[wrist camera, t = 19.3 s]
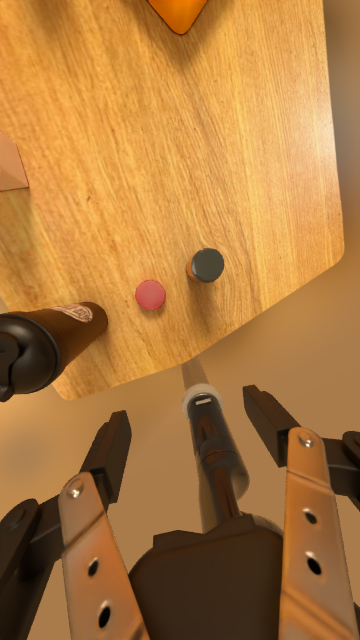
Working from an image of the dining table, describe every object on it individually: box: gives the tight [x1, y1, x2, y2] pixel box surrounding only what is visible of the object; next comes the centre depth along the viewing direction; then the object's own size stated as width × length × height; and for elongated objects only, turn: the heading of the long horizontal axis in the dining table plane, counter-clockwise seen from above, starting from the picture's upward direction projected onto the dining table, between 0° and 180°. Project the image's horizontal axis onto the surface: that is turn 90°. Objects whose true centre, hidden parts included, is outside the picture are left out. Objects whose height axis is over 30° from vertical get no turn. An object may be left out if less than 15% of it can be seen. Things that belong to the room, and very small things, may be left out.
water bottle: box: [0, 302, 108, 402], centre depth 28 cm, size 10×10×23 cm
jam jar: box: [186, 248, 224, 283], centre depth 34 cm, size 6×6×10 cm
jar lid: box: [135, 280, 165, 310], centre depth 38 cm, size 6×6×2 cm
